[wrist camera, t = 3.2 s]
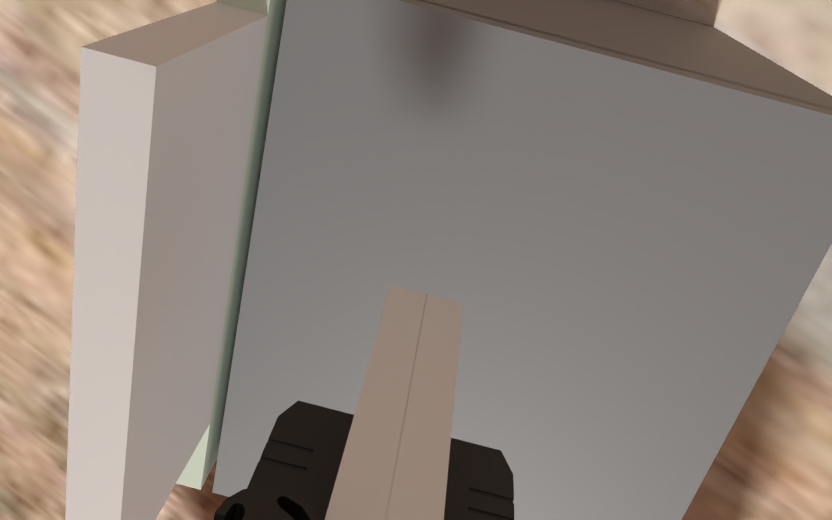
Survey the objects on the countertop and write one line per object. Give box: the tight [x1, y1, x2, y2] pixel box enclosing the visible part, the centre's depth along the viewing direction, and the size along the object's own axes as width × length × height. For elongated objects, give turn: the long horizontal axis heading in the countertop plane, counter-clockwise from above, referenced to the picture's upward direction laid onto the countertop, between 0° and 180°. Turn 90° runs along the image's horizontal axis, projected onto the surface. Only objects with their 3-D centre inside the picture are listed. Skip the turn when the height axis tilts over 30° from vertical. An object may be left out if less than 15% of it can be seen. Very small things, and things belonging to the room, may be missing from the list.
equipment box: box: [212, 0, 832, 520], centre depth 27 cm, size 14×16×16 cm
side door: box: [65, 0, 287, 520], centre depth 24 cm, size 1×16×22 cm, turn 166°
